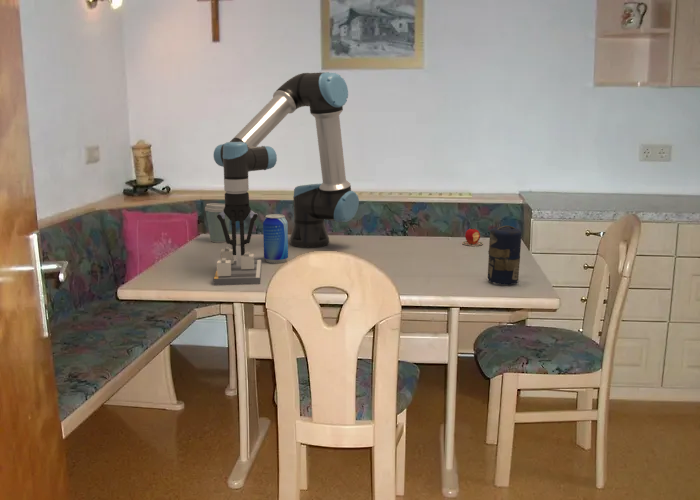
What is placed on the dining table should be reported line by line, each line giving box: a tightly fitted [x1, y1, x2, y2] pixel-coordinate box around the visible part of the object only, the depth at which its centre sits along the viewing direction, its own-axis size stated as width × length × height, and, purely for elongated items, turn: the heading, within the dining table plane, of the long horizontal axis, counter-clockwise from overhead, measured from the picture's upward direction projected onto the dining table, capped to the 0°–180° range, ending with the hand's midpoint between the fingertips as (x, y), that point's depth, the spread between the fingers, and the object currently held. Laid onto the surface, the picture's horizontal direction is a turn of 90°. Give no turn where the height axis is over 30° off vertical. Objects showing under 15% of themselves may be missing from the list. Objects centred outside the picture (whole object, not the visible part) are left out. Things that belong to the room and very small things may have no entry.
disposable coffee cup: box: [204, 203, 231, 244], centre depth 272 cm, size 11×11×15 cm
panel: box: [213, 246, 262, 286], centre depth 222 cm, size 14×23×7 cm, turn 6°
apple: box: [461, 228, 484, 247], centre depth 269 cm, size 8×8×6 cm
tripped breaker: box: [241, 251, 255, 269], centre depth 222 cm, size 4×4×5 cm
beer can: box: [262, 213, 289, 264], centre depth 240 cm, size 8×8×16 cm
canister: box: [487, 225, 522, 286], centre depth 213 cm, size 10×10×18 cm
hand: (239, 264), depth 222 cm, fingers closed
